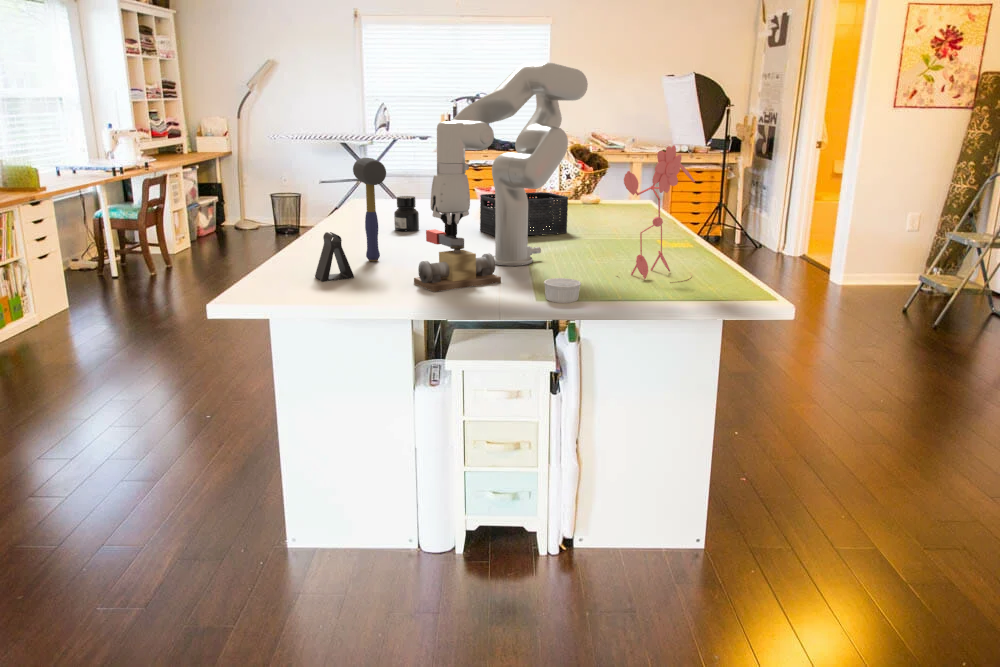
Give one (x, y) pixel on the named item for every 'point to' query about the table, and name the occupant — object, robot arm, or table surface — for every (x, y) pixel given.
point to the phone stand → (326, 260)
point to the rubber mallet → (370, 200)
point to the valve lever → (444, 239)
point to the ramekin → (562, 290)
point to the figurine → (665, 177)
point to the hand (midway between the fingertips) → (450, 238)
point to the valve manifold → (457, 271)
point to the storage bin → (531, 213)
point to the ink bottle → (406, 214)
